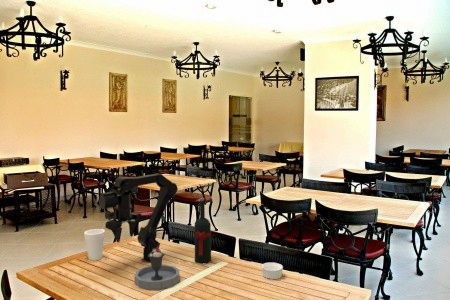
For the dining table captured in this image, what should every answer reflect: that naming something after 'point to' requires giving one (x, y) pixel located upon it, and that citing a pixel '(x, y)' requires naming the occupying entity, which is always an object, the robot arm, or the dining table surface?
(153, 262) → the sundae
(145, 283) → the grey polygonal tray
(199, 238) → the wine bottle
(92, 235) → the foam cup
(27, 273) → the dining table surface
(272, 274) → the ramekin
